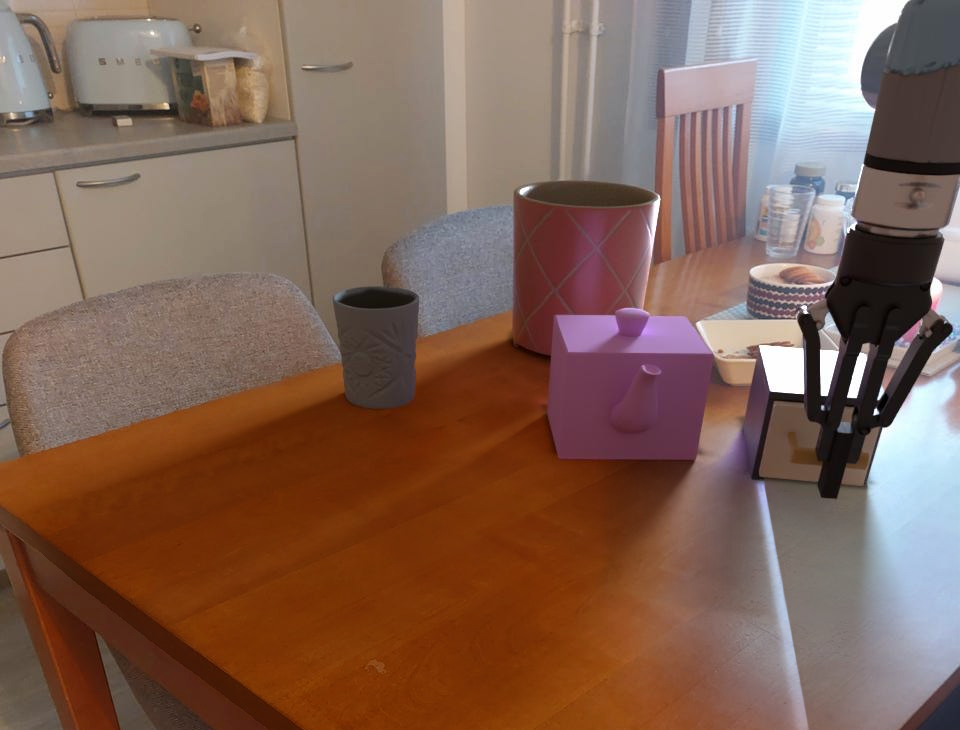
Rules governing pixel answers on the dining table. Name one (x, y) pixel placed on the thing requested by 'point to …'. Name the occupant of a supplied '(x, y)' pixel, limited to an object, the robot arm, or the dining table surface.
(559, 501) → the dining table surface
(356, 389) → the gray embossed cup
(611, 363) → the teapot
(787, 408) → the drawer
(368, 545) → the dining table surface
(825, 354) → the cabinet
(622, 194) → the planter
